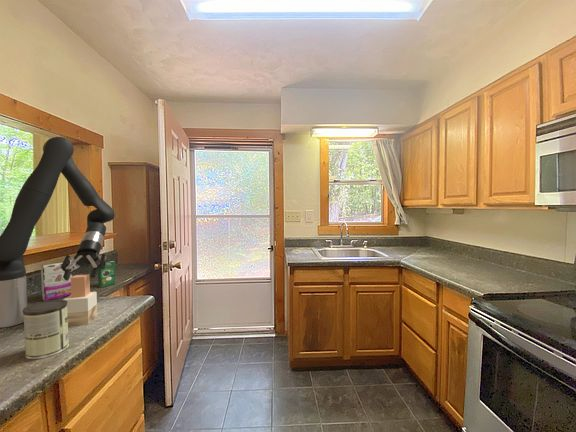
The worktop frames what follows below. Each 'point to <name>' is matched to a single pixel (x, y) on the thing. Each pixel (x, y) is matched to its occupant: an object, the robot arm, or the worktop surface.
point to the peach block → (80, 285)
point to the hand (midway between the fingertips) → (79, 278)
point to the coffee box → (106, 274)
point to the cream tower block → (81, 303)
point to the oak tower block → (82, 317)
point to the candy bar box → (54, 282)
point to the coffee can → (45, 329)
